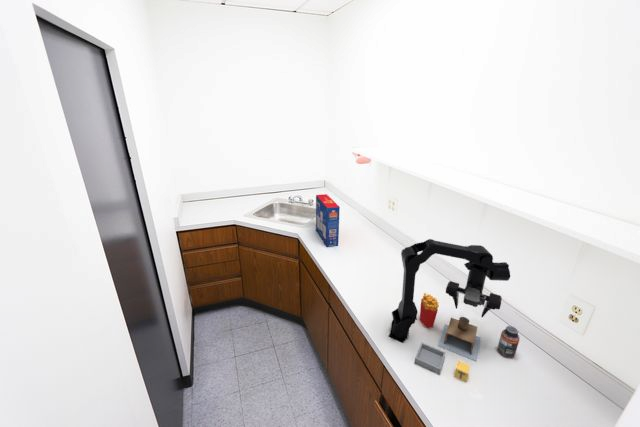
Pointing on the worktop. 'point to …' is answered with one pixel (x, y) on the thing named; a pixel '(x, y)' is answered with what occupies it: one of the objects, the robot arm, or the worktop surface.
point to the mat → (459, 345)
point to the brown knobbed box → (462, 330)
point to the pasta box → (327, 220)
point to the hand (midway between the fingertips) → (468, 312)
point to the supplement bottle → (508, 342)
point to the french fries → (428, 310)
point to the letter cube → (462, 371)
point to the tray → (430, 358)
